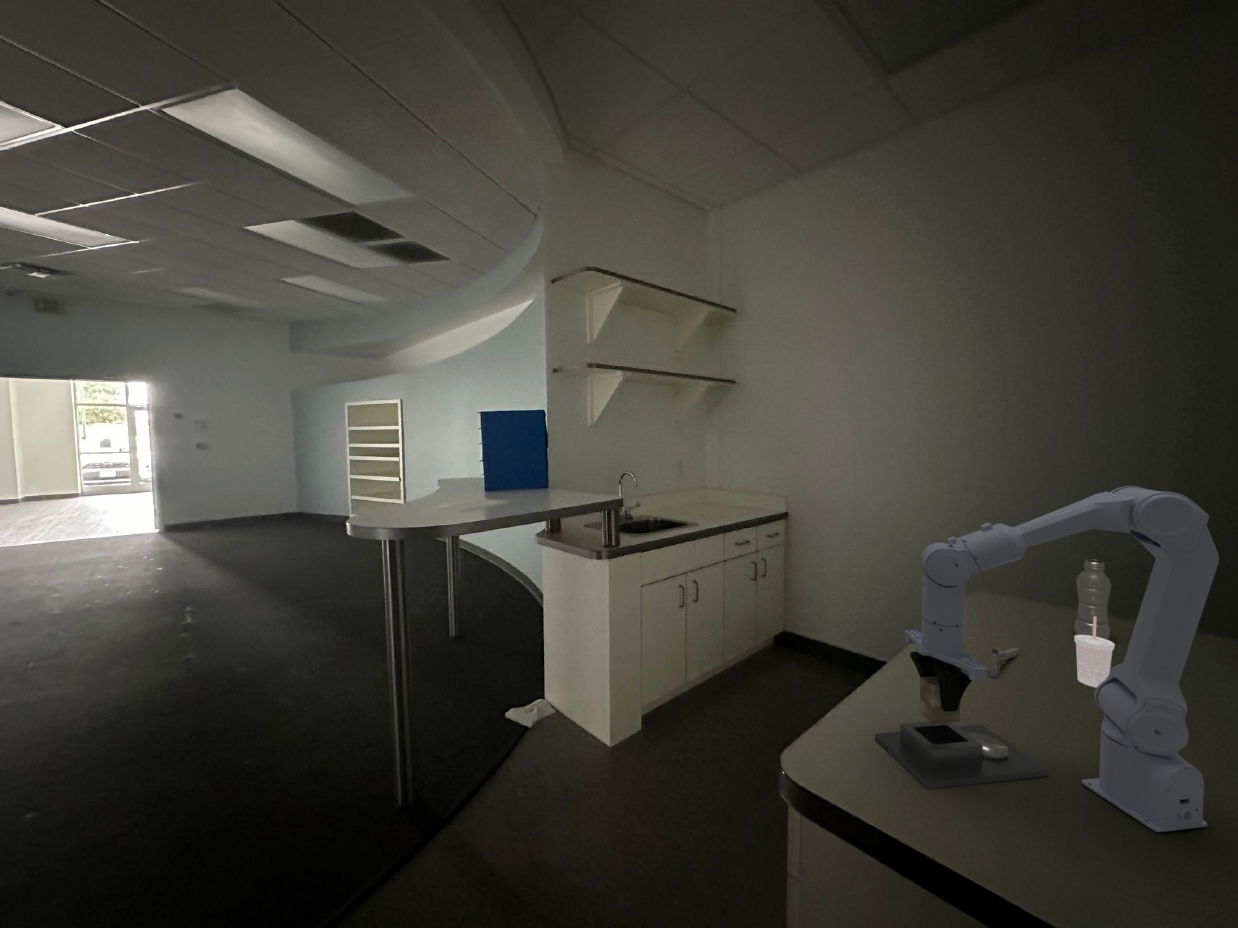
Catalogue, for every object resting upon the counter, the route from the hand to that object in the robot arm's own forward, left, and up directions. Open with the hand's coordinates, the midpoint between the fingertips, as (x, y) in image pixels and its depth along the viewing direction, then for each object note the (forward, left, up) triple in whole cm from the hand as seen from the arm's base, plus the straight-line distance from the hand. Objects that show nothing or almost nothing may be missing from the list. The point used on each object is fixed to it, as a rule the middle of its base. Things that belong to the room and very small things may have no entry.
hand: (940, 704), depth 79 cm
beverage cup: (+18, -50, -9) cm, 54 cm away
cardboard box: (0, 0, -2) cm, 2 cm away
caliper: (+28, -40, -9) cm, 50 cm away
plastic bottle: (+37, -73, -9) cm, 82 cm away
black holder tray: (0, -3, -9) cm, 9 cm away
